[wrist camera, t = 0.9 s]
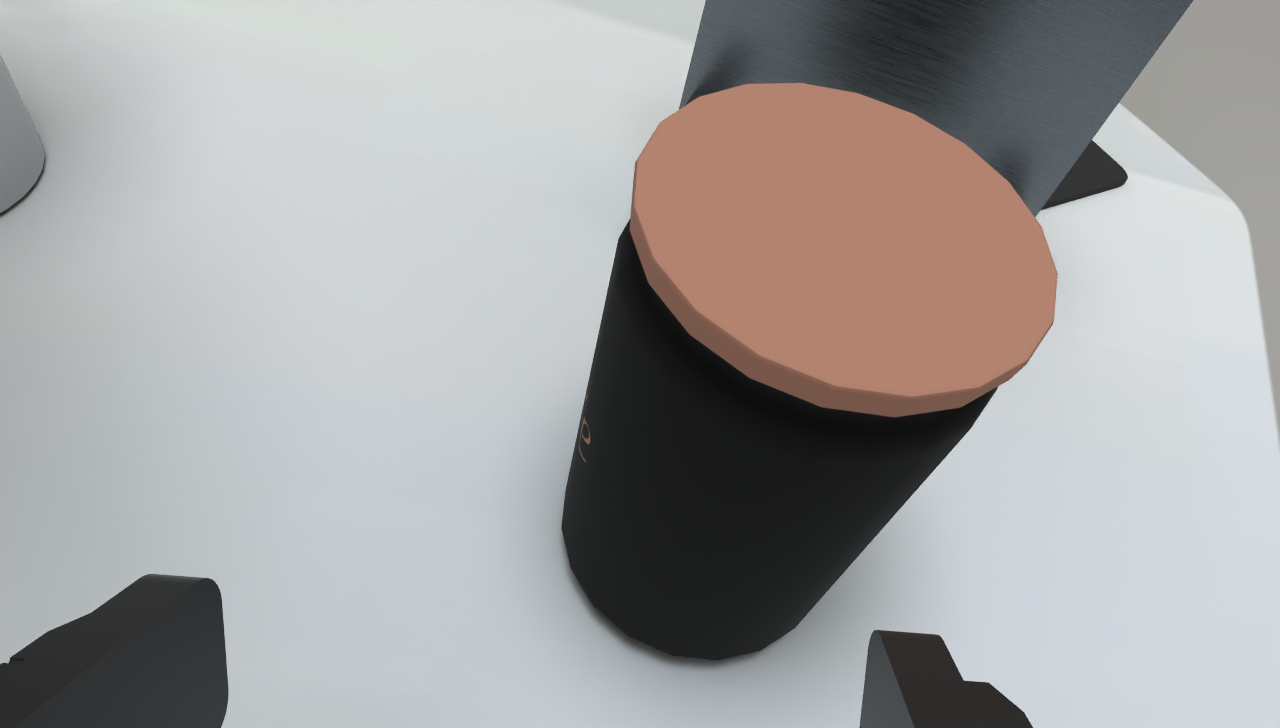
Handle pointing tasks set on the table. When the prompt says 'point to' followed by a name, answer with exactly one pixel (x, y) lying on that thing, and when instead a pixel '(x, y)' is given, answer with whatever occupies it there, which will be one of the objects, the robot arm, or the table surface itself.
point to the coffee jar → (787, 355)
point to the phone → (1088, 177)
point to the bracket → (951, 66)
